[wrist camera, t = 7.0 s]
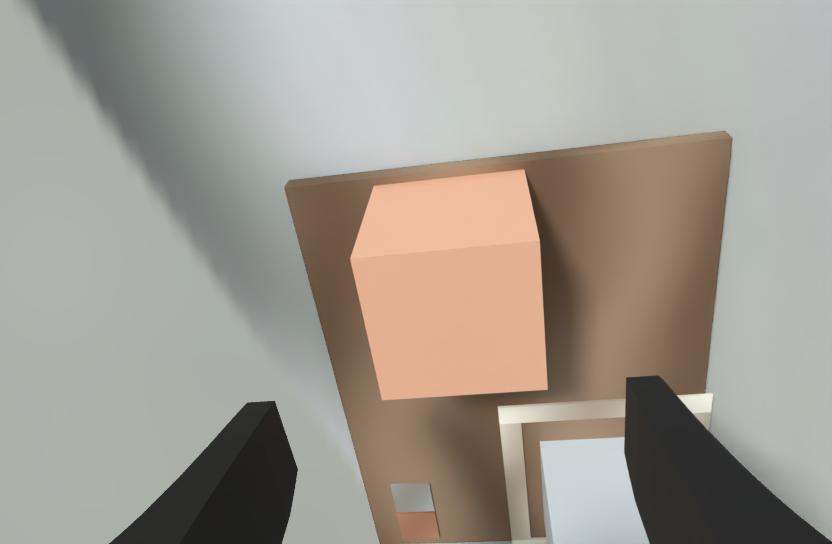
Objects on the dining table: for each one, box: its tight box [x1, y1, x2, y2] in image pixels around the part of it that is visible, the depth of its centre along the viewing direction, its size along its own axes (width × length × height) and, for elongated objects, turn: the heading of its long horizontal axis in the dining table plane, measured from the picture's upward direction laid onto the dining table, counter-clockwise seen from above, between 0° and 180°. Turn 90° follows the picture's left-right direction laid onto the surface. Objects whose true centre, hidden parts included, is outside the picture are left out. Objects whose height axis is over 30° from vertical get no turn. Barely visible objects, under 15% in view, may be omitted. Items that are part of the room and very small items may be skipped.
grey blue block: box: [540, 437, 650, 544], centre depth 23 cm, size 4×4×4 cm
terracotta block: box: [350, 169, 548, 400], centre depth 18 cm, size 4×4×4 cm
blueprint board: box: [285, 131, 732, 544], centre depth 23 cm, size 13×18×1 cm
